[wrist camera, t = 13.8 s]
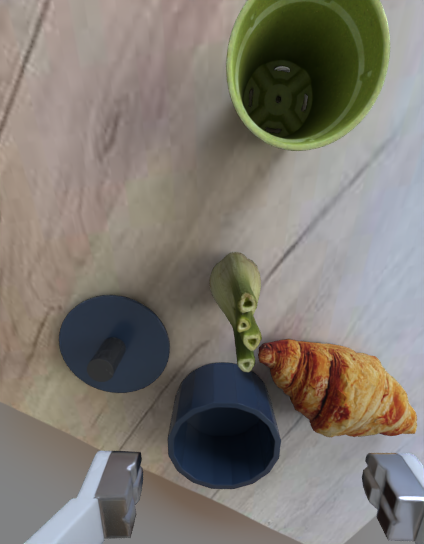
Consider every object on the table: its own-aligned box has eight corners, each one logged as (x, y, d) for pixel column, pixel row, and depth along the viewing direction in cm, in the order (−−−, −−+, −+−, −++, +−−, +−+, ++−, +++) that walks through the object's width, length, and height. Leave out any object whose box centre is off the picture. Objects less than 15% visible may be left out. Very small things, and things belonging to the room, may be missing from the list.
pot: (177, 437, 36) (169, 488, 30) (174, 361, 33) (165, 401, 27) (265, 438, 36) (275, 490, 30) (272, 363, 33) (285, 403, 27)
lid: (71, 385, 34) (47, 419, 29) (56, 291, 30) (26, 312, 26) (172, 387, 34) (165, 421, 29) (169, 293, 30) (160, 314, 25)
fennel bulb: (241, 308, 31) (257, 383, 19) (200, 289, 30) (191, 356, 19) (267, 261, 29) (301, 312, 18) (224, 240, 29) (230, 280, 17)
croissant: (402, 378, 37) (469, 396, 29) (379, 457, 35) (445, 499, 27) (262, 307, 34) (297, 308, 26) (228, 390, 32) (255, 416, 24)
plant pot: (321, 163, 26) (370, 154, 18) (219, 157, 26) (221, 145, 18) (341, 41, 23) (409, -35, 15) (226, 34, 23) (233, -46, 15)
